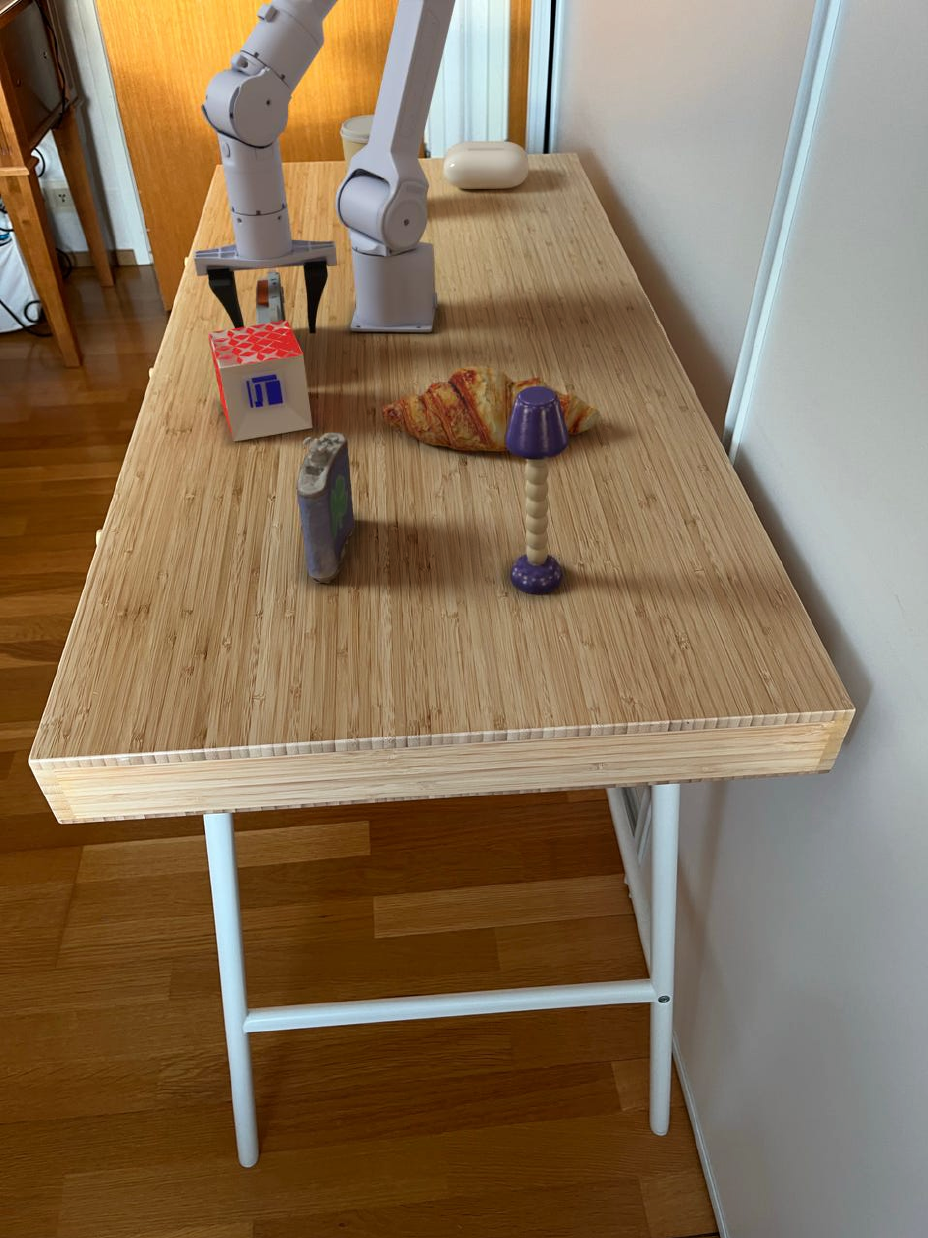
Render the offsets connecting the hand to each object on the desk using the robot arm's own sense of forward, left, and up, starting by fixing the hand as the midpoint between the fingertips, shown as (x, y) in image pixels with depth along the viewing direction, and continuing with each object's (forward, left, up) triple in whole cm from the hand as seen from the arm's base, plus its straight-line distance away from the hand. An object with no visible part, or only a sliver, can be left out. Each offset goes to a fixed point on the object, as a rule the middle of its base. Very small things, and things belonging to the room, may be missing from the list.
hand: (277, 332), depth 108 cm
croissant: (-24, +16, -3) cm, 29 cm away
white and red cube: (-1, +13, -3) cm, 13 cm away
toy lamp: (-28, +38, -3) cm, 47 cm away
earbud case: (-21, -58, -3) cm, 62 cm away
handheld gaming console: (0, 0, -3) cm, 3 cm away
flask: (-11, +35, -3) cm, 37 cm away
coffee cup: (-6, -45, -3) cm, 45 cm away
